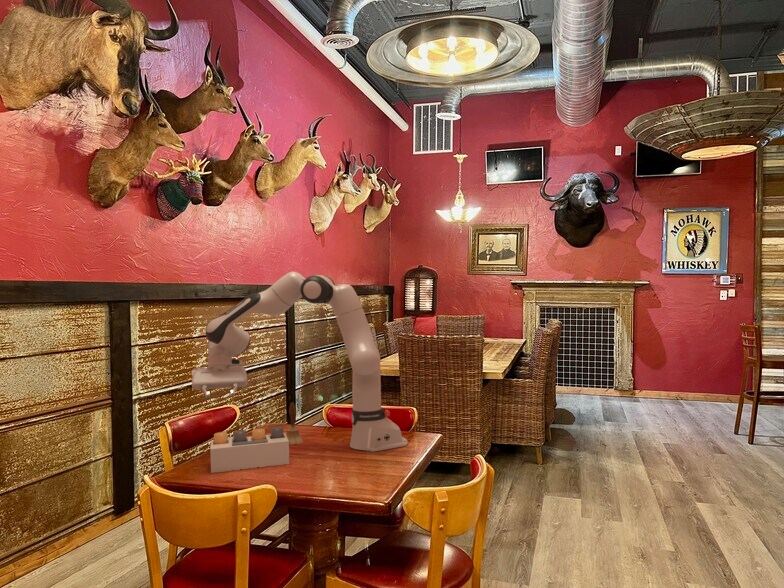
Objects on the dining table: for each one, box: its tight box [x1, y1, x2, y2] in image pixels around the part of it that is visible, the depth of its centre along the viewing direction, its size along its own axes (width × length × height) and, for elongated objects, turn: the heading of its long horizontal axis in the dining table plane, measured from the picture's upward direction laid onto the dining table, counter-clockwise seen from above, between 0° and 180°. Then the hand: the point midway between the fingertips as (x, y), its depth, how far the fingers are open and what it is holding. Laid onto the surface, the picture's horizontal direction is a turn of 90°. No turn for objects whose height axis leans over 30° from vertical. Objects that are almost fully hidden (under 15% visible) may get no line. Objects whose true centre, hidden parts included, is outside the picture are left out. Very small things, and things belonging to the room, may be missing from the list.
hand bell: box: [286, 402, 304, 446], centre depth 218 cm, size 8×8×16 cm
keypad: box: [209, 432, 290, 474], centre depth 191 cm, size 26×12×8 cm, turn 107°
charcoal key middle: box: [232, 429, 247, 442], centre depth 192 cm, size 4×4×6 cm
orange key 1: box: [213, 431, 228, 445], centre depth 190 cm, size 4×4×6 cm
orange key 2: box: [251, 427, 266, 440], centre depth 194 cm, size 4×4×6 cm
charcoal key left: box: [270, 426, 284, 439], centre depth 196 cm, size 4×4×6 cm
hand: (220, 396), depth 203 cm, fingers open, 8 cm apart
